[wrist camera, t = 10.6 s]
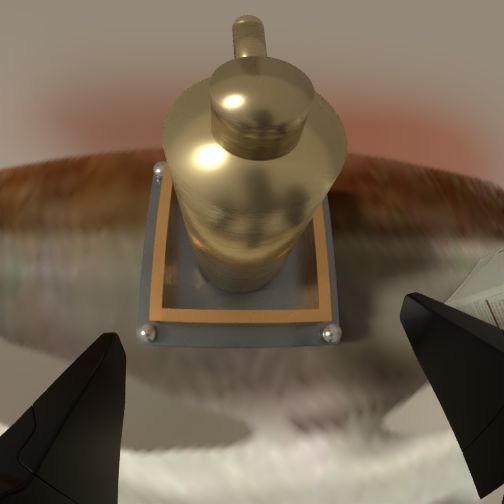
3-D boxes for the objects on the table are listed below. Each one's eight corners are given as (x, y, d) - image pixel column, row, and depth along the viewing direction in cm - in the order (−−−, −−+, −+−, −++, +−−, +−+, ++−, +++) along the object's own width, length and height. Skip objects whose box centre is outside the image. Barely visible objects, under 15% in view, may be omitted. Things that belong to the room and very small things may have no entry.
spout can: (290, 286, 17) (409, 157, 5) (199, 297, 16) (138, 168, 5) (274, 194, 18) (328, 16, 7) (191, 202, 18) (160, 16, 6)
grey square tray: (312, 192, 22) (332, 152, 17) (323, 345, 19) (354, 342, 14) (162, 188, 21) (149, 147, 16) (150, 344, 18) (125, 342, 13)
